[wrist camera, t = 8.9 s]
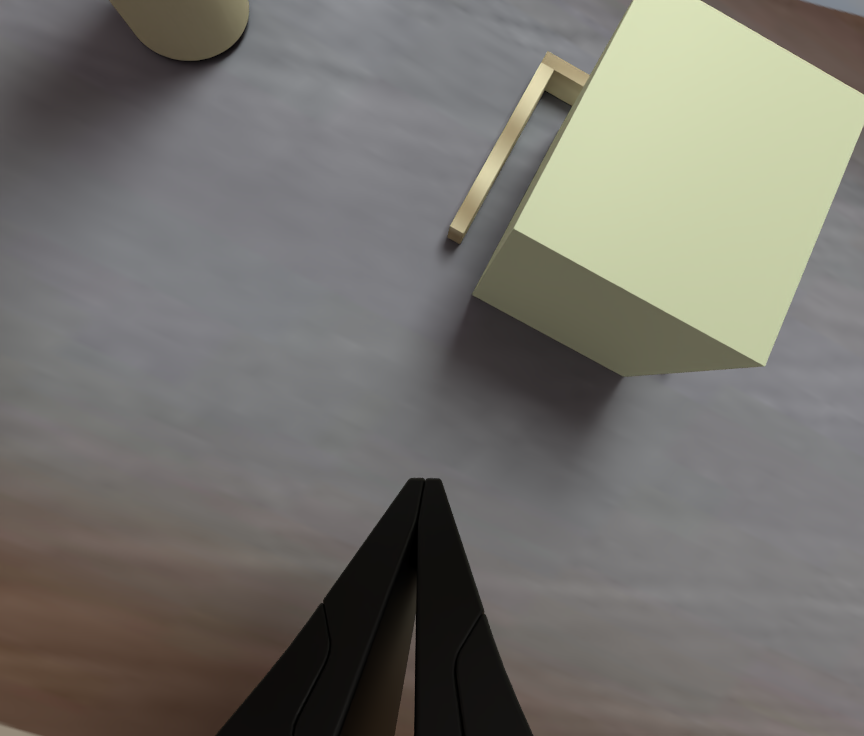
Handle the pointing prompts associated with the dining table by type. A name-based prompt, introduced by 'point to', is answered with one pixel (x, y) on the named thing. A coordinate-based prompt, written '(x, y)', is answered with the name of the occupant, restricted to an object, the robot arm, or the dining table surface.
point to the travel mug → (185, 25)
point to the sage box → (678, 197)
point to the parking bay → (518, 132)
